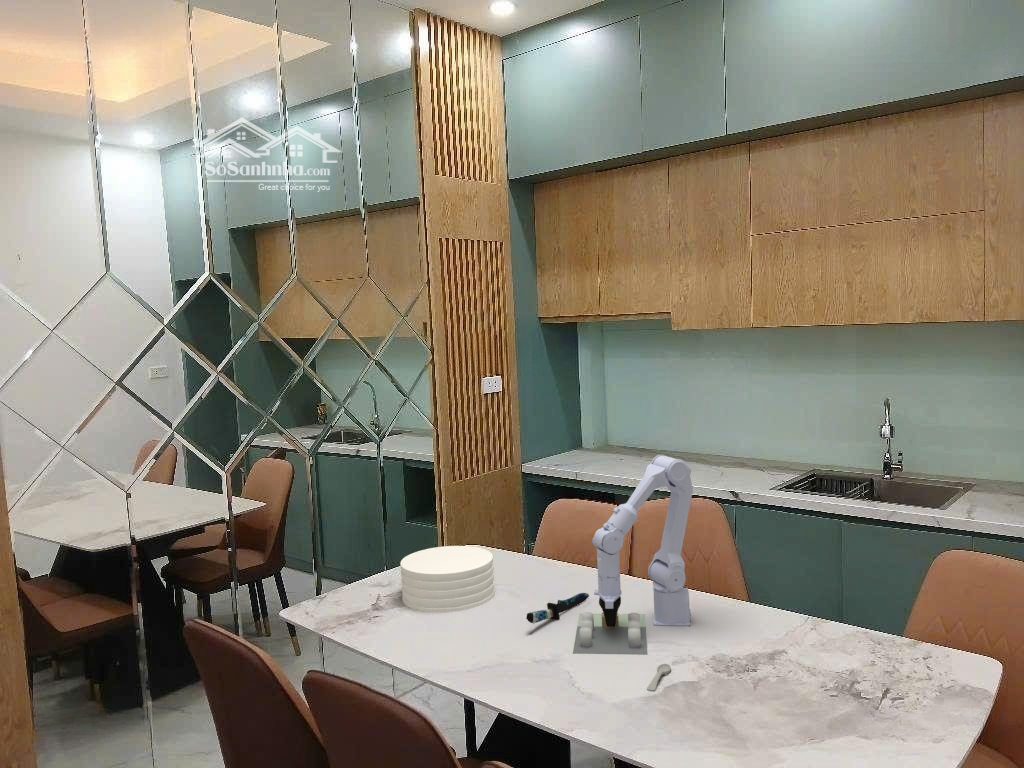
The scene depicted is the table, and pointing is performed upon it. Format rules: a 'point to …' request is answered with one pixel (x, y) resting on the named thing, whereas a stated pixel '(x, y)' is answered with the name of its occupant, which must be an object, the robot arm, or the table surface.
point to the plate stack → (447, 578)
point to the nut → (606, 625)
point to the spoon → (662, 670)
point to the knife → (556, 608)
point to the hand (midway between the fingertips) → (611, 625)
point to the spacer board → (611, 635)
